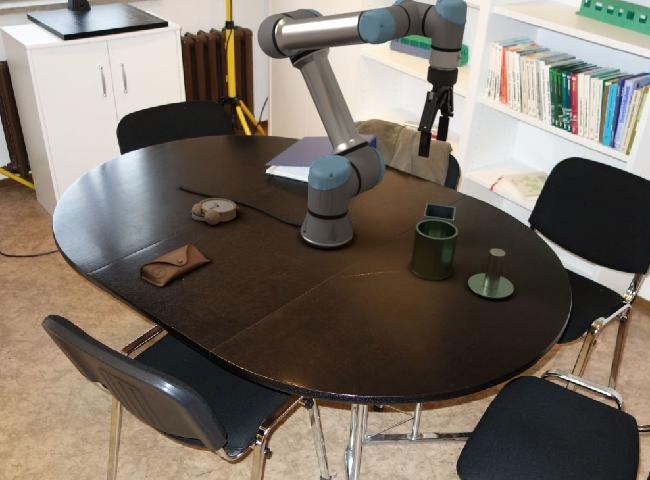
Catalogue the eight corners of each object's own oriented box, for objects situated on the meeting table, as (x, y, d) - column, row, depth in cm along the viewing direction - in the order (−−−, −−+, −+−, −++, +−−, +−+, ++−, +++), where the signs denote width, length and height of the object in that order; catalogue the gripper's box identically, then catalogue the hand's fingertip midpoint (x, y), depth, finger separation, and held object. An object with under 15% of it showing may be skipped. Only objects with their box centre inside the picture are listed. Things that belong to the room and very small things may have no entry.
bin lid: (465, 296, 179) (472, 259, 173) (469, 273, 189) (476, 237, 183) (511, 304, 177) (520, 267, 171) (513, 281, 187) (522, 245, 181)
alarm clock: (244, 205, 210) (210, 214, 199) (242, 220, 212) (209, 230, 201) (217, 194, 215) (182, 202, 204) (215, 209, 217) (181, 218, 206)
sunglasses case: (162, 287, 174) (151, 263, 173) (147, 290, 179) (136, 267, 178) (212, 260, 187) (202, 237, 185) (197, 264, 192) (187, 242, 190)
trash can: (407, 276, 186) (412, 234, 179) (414, 256, 195) (419, 216, 188) (448, 283, 184) (455, 242, 177) (453, 263, 193) (460, 223, 186)
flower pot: (449, 247, 201) (454, 219, 196) (419, 243, 202) (423, 215, 197) (451, 233, 208) (456, 206, 203) (422, 229, 209) (426, 202, 204)
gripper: (440, 80, 160) (429, 166, 171) (473, 58, 178) (461, 137, 190) (410, 75, 162) (401, 160, 174) (446, 53, 181) (435, 131, 193)
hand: (432, 148), depth 182 cm, fingers open, 13 cm apart
